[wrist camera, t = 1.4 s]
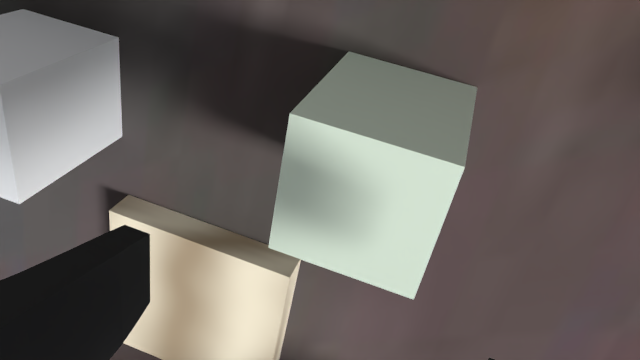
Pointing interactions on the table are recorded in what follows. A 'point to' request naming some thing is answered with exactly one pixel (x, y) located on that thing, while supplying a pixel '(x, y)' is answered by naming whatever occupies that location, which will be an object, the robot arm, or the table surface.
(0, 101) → the grey block
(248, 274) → the birch block
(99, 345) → the robot arm
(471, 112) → the sage block
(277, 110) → the table surface
